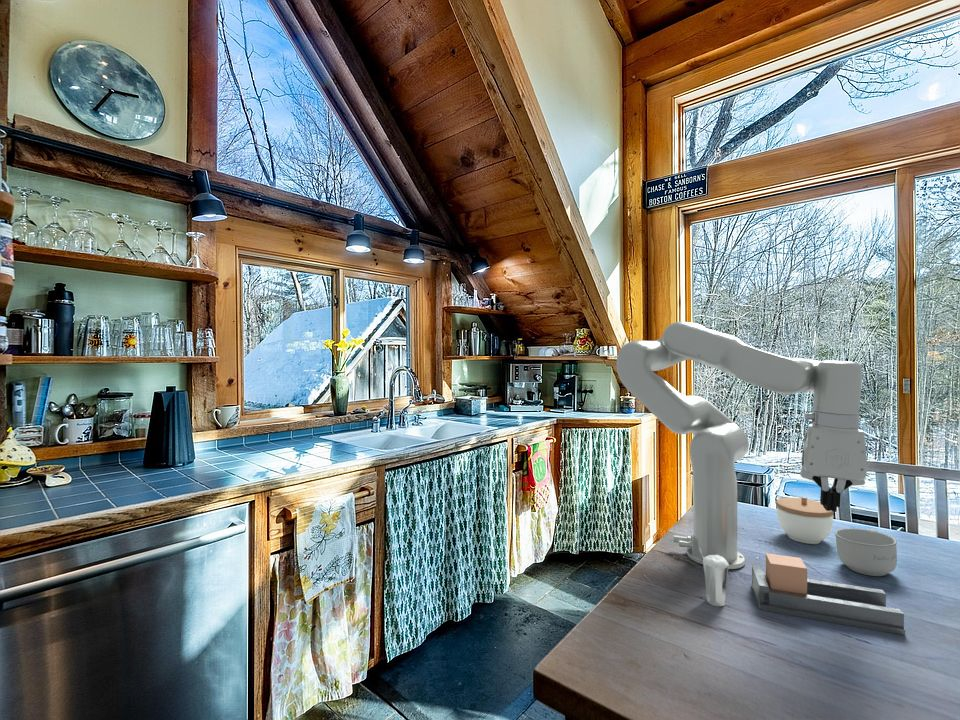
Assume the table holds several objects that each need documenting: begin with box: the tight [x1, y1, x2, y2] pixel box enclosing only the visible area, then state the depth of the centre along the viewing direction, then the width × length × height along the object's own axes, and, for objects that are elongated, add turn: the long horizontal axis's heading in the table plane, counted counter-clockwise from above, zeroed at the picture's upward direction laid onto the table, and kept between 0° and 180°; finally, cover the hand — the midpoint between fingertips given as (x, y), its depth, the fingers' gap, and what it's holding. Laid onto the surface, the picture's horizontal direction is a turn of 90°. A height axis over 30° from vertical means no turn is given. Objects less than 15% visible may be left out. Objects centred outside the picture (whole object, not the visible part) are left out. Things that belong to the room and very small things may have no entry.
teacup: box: [834, 527, 898, 577], centre depth 106 cm, size 14×11×8 cm
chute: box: [751, 565, 906, 636], centre depth 90 cm, size 22×10×4 cm, turn 68°
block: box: [765, 553, 808, 594], centre depth 92 cm, size 6×5×7 cm
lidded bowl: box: [775, 496, 835, 545], centre depth 123 cm, size 13×13×11 cm
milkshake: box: [699, 548, 729, 608], centre depth 92 cm, size 4×5×10 cm
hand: (829, 509), depth 95 cm, fingers closed
